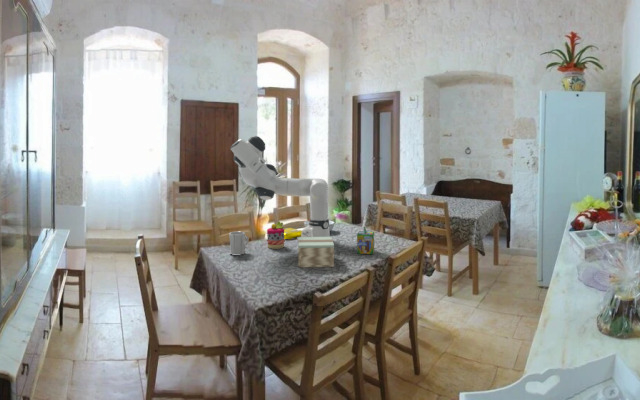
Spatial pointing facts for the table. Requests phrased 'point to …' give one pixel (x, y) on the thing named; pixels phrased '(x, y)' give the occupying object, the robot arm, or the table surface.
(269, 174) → the robot arm
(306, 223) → the serving bowl
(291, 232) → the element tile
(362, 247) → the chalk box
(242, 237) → the cup
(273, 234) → the cake
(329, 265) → the birch box
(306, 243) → the lid
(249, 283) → the table surface
